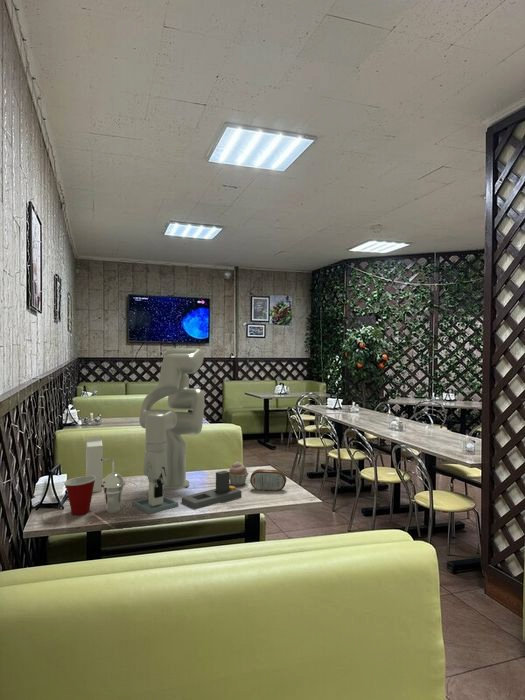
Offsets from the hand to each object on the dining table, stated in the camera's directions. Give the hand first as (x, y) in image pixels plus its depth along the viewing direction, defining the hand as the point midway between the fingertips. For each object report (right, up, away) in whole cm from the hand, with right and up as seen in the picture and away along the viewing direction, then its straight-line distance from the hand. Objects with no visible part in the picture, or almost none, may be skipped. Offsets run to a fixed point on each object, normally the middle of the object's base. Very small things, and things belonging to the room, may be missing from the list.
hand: (156, 495), depth 168 cm
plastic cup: (-26, -4, -6) cm, 27 cm away
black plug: (+24, -4, +10) cm, 26 cm away
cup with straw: (-14, -4, -5) cm, 16 cm away
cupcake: (+29, -4, +29) cm, 41 cm away
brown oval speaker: (+42, -5, +20) cm, 47 cm away
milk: (-30, -4, +19) cm, 36 cm away
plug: (0, -3, 0) cm, 3 cm away
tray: (0, -4, 0) cm, 4 cm away
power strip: (+20, -4, +7) cm, 22 cm away
